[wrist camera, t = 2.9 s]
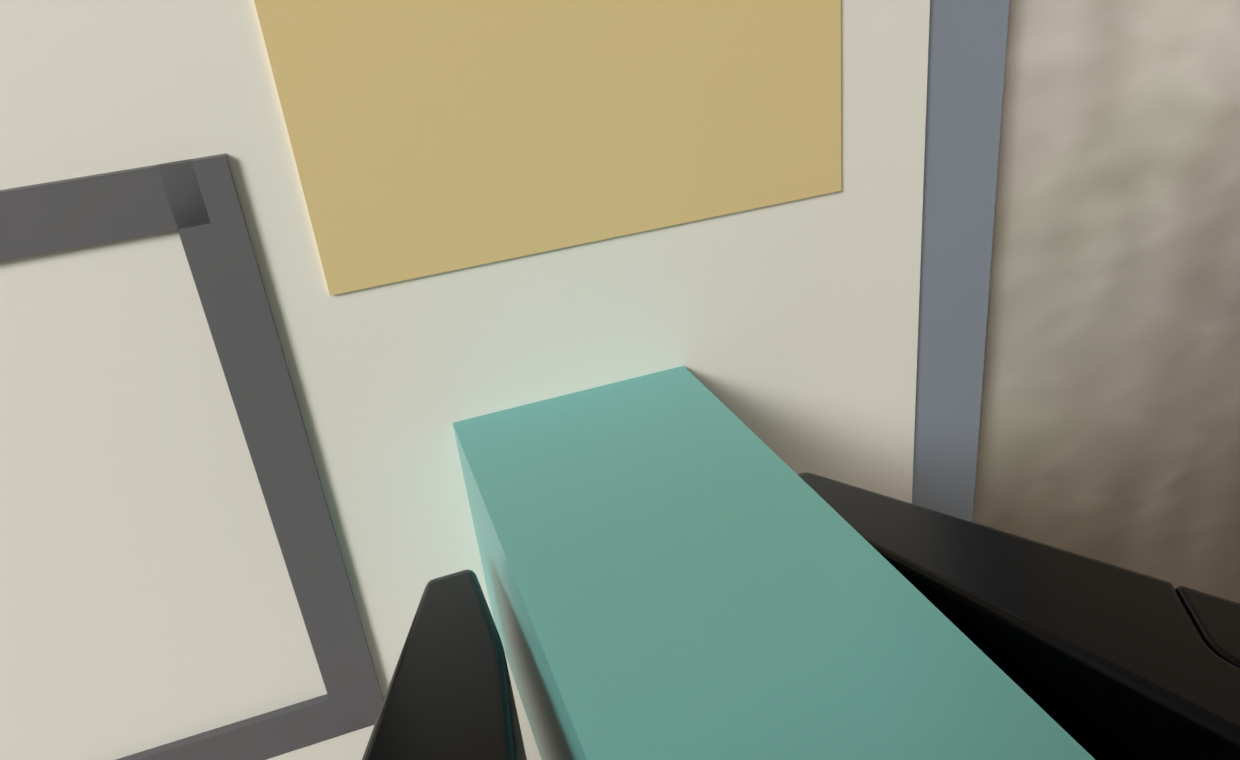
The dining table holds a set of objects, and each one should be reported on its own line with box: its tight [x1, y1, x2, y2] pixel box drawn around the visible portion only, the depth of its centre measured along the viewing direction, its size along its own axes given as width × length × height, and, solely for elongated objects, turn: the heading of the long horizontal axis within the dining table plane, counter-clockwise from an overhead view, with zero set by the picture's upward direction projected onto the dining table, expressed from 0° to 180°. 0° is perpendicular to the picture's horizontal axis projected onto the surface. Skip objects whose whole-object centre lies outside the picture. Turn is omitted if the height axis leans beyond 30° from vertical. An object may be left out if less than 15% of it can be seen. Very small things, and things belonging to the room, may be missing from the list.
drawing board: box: [0, 0, 1010, 760], centre depth 8 cm, size 18×12×1 cm, turn 98°
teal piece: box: [452, 366, 1095, 760], centre depth 7 cm, size 2×2×6 cm
